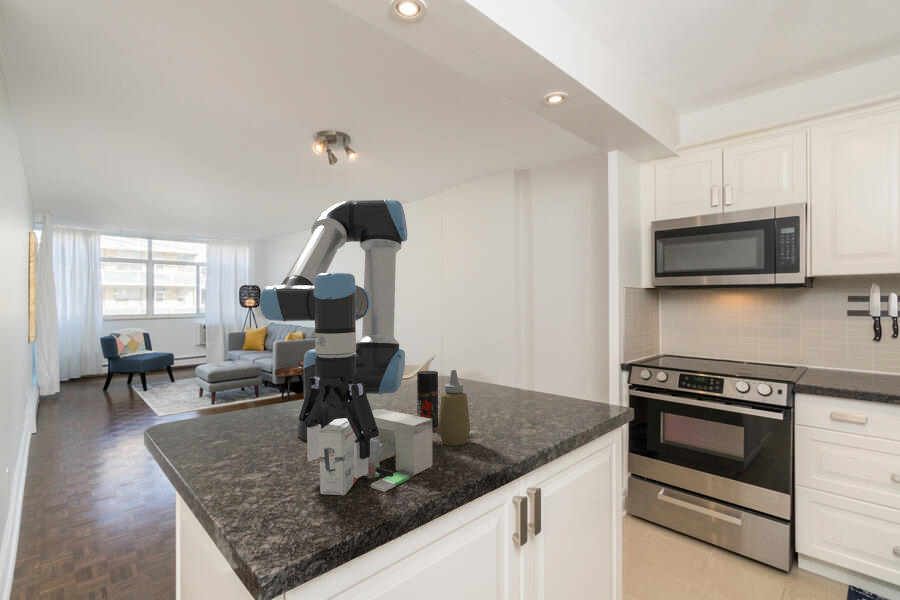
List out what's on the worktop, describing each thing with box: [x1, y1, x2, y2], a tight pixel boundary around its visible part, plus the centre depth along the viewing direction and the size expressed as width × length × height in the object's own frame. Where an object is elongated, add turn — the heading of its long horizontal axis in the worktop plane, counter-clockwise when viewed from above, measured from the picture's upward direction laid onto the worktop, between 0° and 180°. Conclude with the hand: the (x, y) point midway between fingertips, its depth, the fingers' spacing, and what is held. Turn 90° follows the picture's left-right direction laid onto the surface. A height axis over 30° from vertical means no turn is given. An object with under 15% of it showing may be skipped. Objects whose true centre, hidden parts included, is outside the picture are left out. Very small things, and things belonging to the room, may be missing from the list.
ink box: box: [318, 418, 359, 496], centre depth 82 cm, size 9×5×12 cm, turn 174°
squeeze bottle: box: [437, 369, 471, 447], centre depth 107 cm, size 8×8×18 cm
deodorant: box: [416, 370, 439, 429], centre depth 122 cm, size 6×6×15 cm
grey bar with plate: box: [365, 437, 396, 478], centre depth 89 cm, size 12×10×7 cm
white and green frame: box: [361, 408, 433, 493], centre depth 90 cm, size 16×15×10 cm
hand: (336, 466), depth 81 cm, fingers open, 13 cm apart
